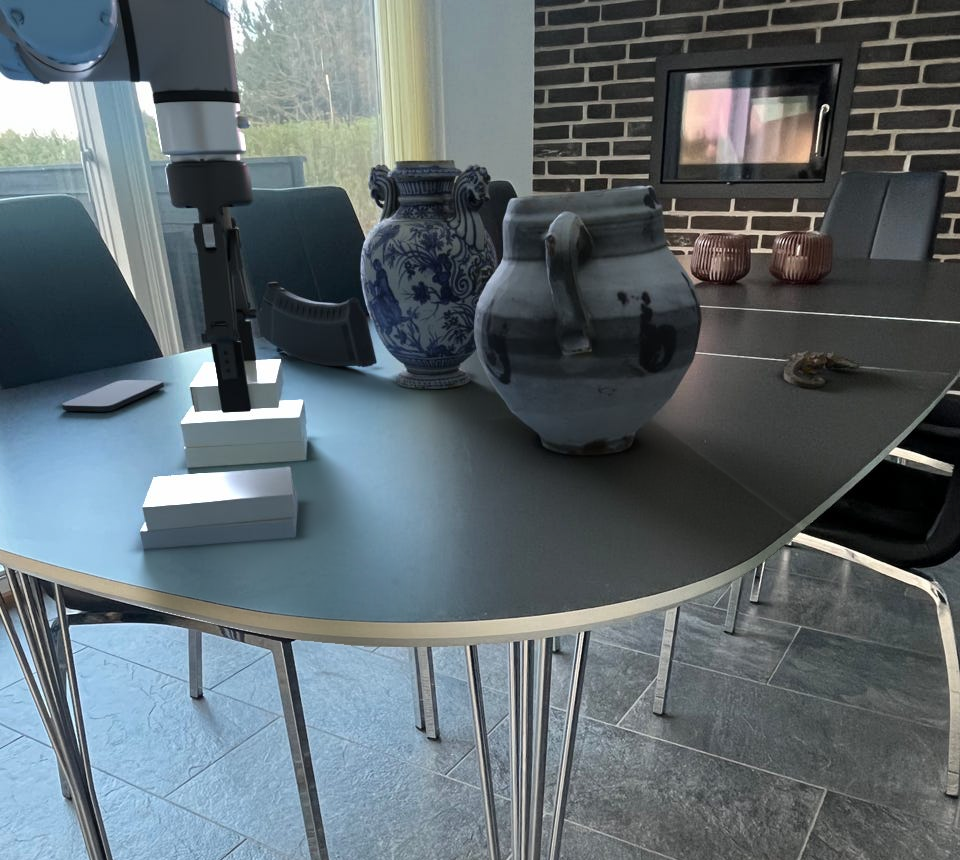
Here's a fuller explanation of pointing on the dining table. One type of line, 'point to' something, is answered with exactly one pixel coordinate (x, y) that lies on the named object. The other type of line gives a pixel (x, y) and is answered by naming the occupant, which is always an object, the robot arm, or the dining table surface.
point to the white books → (246, 436)
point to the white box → (220, 508)
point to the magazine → (316, 329)
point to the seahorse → (813, 367)
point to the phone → (113, 395)
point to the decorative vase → (427, 267)
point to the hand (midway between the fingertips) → (242, 397)
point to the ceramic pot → (587, 317)
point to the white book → (260, 380)
